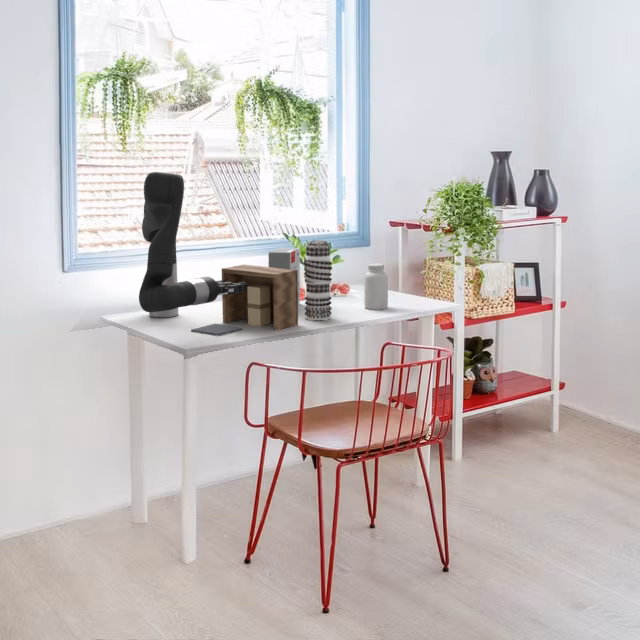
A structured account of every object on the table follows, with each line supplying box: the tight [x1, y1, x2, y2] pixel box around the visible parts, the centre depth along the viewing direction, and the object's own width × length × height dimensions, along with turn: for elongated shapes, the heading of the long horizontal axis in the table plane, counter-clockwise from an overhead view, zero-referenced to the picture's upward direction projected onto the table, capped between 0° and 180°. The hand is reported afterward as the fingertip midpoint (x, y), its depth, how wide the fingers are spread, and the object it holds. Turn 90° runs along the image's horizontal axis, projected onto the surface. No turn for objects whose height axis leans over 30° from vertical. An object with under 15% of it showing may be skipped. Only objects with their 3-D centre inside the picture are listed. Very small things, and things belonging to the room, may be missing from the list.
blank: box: [247, 284, 272, 327], centre depth 299 cm, size 5×5×12 cm
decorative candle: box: [303, 239, 333, 322], centre depth 306 cm, size 9×9×25 cm
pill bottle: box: [364, 262, 389, 311], centre depth 324 cm, size 8×8×15 cm
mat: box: [190, 323, 244, 337], centre depth 291 cm, size 11×11×1 cm
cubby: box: [221, 264, 299, 331], centre depth 299 cm, size 11×22×17 cm, turn 54°
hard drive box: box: [268, 247, 301, 305], centre depth 326 cm, size 16×8×20 cm, turn 168°
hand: (235, 284), depth 289 cm, fingers open, 8 cm apart
